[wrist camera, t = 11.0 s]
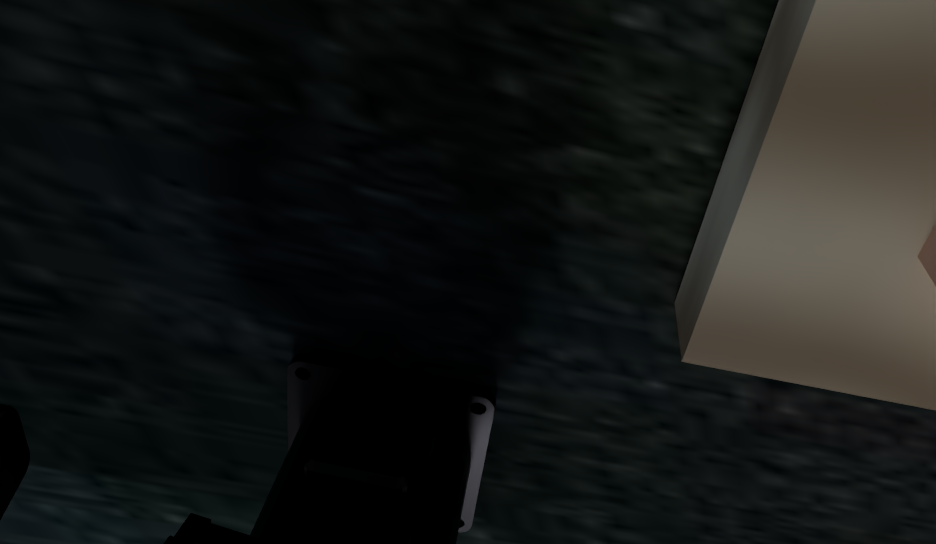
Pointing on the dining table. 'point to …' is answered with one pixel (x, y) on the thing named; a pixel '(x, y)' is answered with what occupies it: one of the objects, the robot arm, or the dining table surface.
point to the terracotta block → (929, 255)
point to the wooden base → (826, 209)
